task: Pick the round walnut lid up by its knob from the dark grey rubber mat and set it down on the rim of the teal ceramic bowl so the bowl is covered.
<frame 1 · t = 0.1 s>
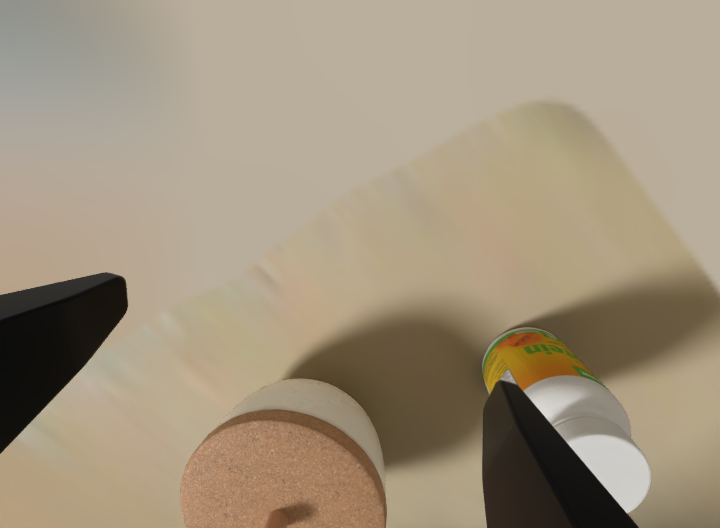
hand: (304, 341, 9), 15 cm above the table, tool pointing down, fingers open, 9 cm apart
lidded jar: (314, 421, 28), on the table
supplement bottle: (523, 363, 25), on the table
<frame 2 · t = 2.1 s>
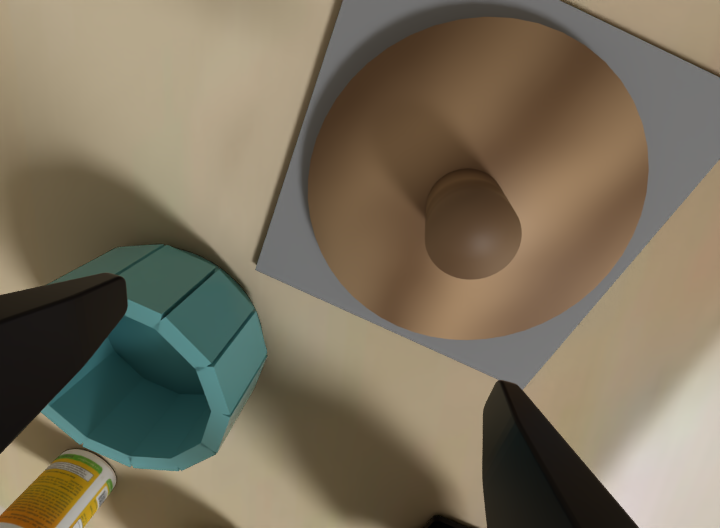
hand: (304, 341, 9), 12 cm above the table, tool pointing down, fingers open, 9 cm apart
bowl: (182, 324, 26), on the table
mat: (462, 199, 19), on the table
lid: (463, 201, 19), resting on mat
supplement bottle: (91, 466, 35), on the table
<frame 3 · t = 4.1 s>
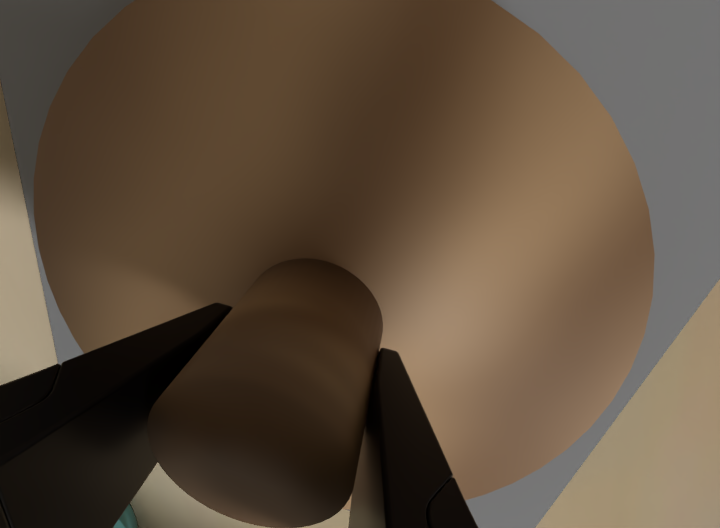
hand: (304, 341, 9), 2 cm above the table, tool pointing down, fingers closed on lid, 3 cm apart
bowl: (28, 493, 19), on the table
mat: (325, 296, 11), on the table
lid: (321, 304, 11), resting on mat, touching gripper
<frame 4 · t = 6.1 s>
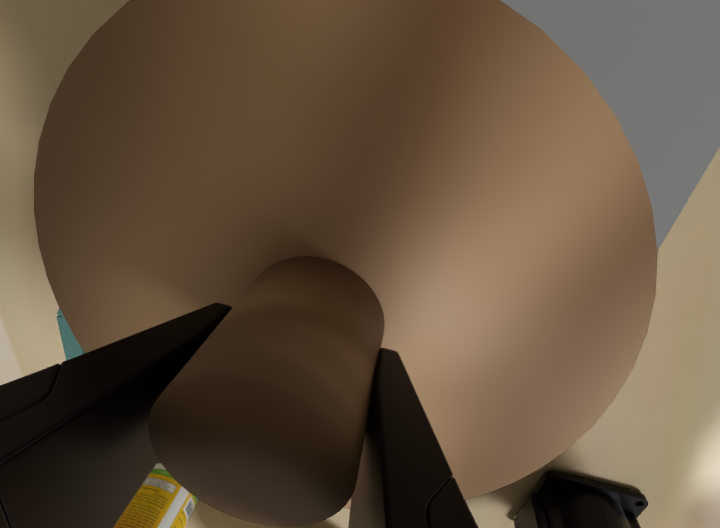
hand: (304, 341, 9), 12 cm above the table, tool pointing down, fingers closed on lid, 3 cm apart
bowl: (234, 304, 24), on the table
mat: (518, 76, 16), on the table
lid: (322, 302, 11), point 10 cm above the table, touching gripper
supplement bottle: (173, 480, 34), on the table
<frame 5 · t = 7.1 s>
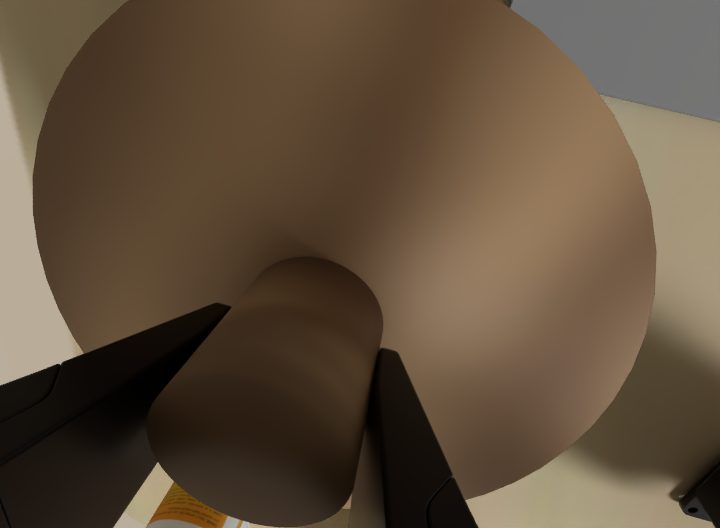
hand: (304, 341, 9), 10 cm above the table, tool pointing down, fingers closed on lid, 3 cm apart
lid: (321, 303, 11), point 9 cm above the table, touching gripper
supplement bottle: (238, 448, 28), on the table
when the fingers open (9 cm above the table, at t = 7.9 s): lid drops 2 cm, resting on bowl.
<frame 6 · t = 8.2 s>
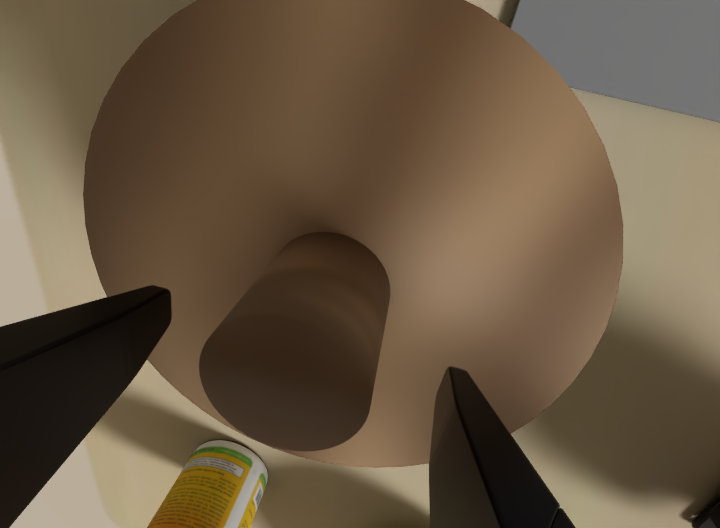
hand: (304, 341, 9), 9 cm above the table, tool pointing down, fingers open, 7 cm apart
lid: (335, 275, 12), point 6 cm above the table, touching bowl
supplement bottle: (233, 462, 27), on the table
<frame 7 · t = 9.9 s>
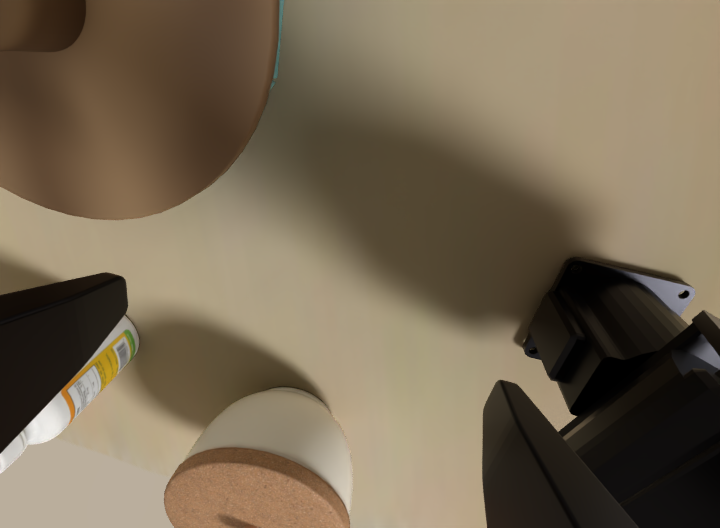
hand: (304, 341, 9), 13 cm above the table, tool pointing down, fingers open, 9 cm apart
lidded jar: (293, 415, 29), on the table
supplement bottle: (106, 328, 28), on the table
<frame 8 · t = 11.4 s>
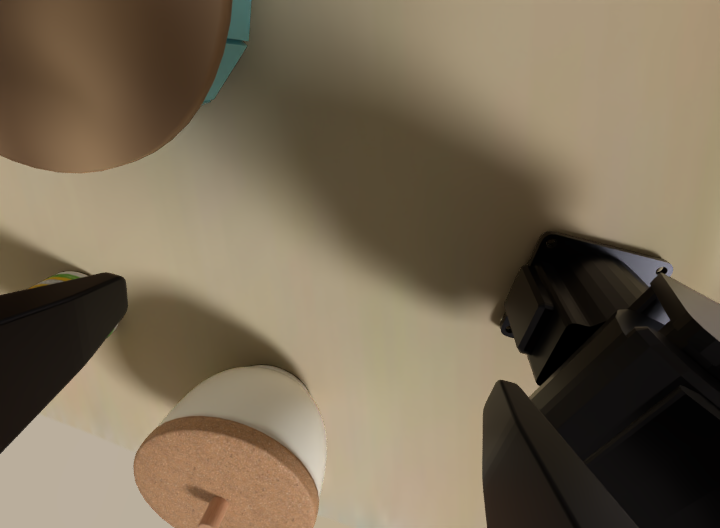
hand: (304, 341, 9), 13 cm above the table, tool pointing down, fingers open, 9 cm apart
lidded jar: (272, 395, 29), on the table
supplement bottle: (88, 301, 28), on the table
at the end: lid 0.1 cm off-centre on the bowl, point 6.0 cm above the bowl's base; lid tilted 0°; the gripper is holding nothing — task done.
